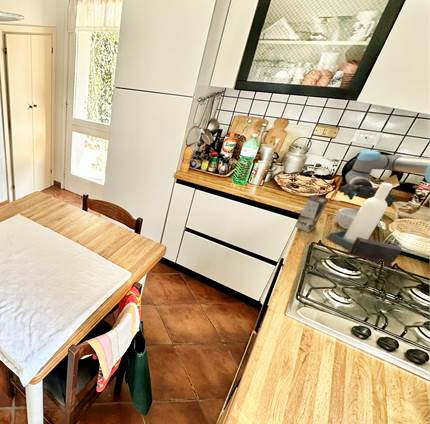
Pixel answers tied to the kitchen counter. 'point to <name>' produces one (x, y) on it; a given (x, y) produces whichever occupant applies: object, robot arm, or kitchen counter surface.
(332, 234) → the drying tray
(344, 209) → the paper bowls
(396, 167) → the robot arm
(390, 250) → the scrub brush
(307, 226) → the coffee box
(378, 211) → the bottle
